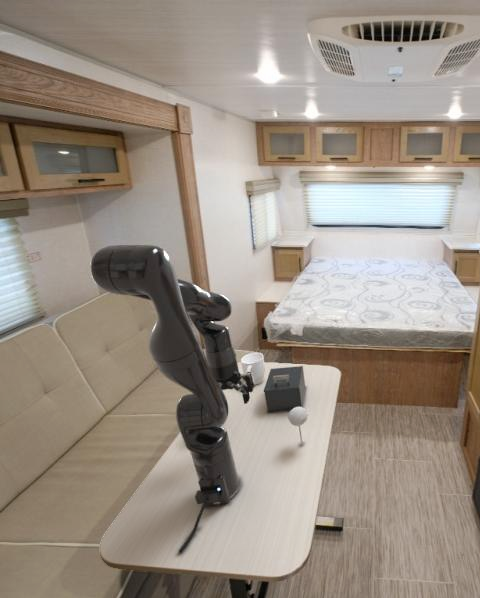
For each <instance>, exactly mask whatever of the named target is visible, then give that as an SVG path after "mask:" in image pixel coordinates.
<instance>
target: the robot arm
mask: <svg viewBox="0 0 480 598" xmlns="http://www.w3.org/2000/svg"><path fill="white" fill-rule="evenodd" d="M89 267H90V268H89V269H90V274H91V277H92V279H93V281H94V283H95V284H96V285H97V286H98V287H99V288H100V289H101V290H103V291H105V292H107V293H109V294H115V295H120V296H129V297H135V298H140V299H143V300H147V301H151V302H152V304H153V306H154V309H155V312H156V320H155V323H154V325H153V327H152V330H151V333H150V336H149V338H148V345H147V346H148V347H147V348H148V352H149V354H150V357H151V358H152V360H153V362H154V364H155V366H156V367H157V369H158V371H159V372H160V373H161V375H162V376H164V377H165V378H166V379H168V381H170V382H172V383H174V384H176V385H178V386H179V387H182V388H183V389H185V390H186V391H189V392H191V393H188V394H185V395H183V396H182V397H181V398H180V399H179V400H178V402H177V404H176V408H175V419H176V420H175V421H176V424H177V428H178V430H179V433H180V436H181V437H182V441H183V442H184V445H185V447H186V449H187V450H188V451H189V452H190V455H191V459H192V462H193V466H194V469H195V472H196V476H197V479H198V487H199V489H200V490H197V491H196V493H195V495H194V498H195V502H196V505H202V506H201V508H200V511H199V513H198V515H197V517H196V520H195V523H194V526H193V529H192V530H191V532H190V534H189V536H188V537H187V539H186V540H185V542H184V543H183V544H182V545H181V547H180V548H179V550H178V552H179V553H183V551H185V550H184V549H185V548H186V547H187V545H188V544H189V543H190V541H191V540H192V539H193V537H194V535H195V533H196V532H197V528H199V527H198V526H199V523H200V520H201V517H202V516H203V513H204V511H205V509H206V507H210V506H211V507H212V506H218V505H225V504H229V503H230V501H231V499H232V498H234V497H235V496H236V495H237V493H238V492H239V490H240V487H241V480H240V478H239V475H238V471H237V466H236V463H235V457H234V455H233V451H232V447H231V442H230V439H229V438H230V437H229V434H228V431H227V429H225V427H223V425H224V424H226V422H227V421H228V418H229V404H228V400H227V397H226V395H225V393H224V391H226V390H233V389H234V390H235V391H237V392H239V393H241V394H242V399H243V404H244V405H247V404H248V402H249V401H250V398H251V396H250V393H253V392H254V388H255V385H254V383H253V379H252V375H251V372H247V374H243V373H241V372H240V370H239V364H238V360H237V354H236V351H235V347H234V345H233V341H232V337H231V333H230V329H229V327H228V326H226V325H224V324H220V323H216V322H223V321H225V320H227V319H228V318H229V317H230V316H231V315H232V313H233V312H232V311H233V307H232V303H231V301H230V299H228V298H227V296H225V295H223V294H221V293H217V292H213V291H209V290H205V289H203V288H201V287H199V286H198V285H196V284H195V283H192V282H191V281H188V280H185V279H181V278H178V276H177V273H176V270H175V267H174V264H173V262H172V259H171V257H170V255H169V254H168V252H167V251H166V250H165V249H163V248H162V247H160V246H157V245H153V244H152V245H151V244H149V245H148V244H146V245H145V244H118V245H108V246H105V247H101V248H100V249H98V250H97V251H96V252H95V253H94V254H93V256H92V258H91V260H90V266H89ZM194 327H195V328H194ZM195 330H196V331H197V332H198V334H199V335H200V337H201V339H202V343H203V346H204V349H203V346H202V343H201V342H200V338H199V337H198V334H197V332H196V331H195ZM204 351H205V352H204Z"/></svg>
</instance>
